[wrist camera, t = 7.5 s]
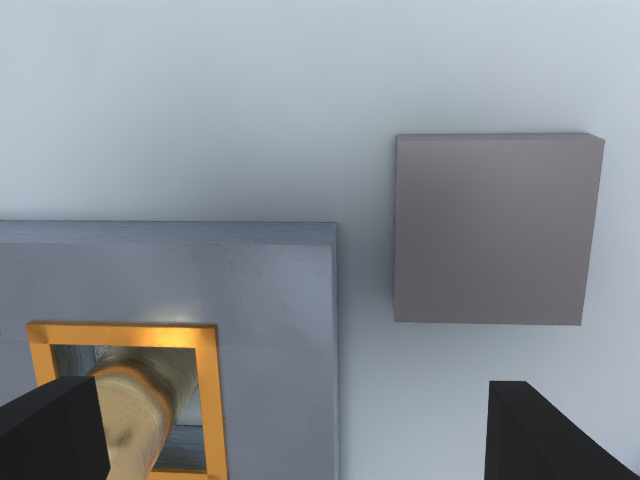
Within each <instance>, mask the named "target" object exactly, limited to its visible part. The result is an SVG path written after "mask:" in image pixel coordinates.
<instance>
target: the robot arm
mask: <svg viewBox="0 0 640 480" xmlns="http://www.w3.org/2000/svg"><path fill="white" fill-rule="evenodd" d="M110 469H111V465H110V460H109V454H108V449H107V443H106V438H105V432H104V427H103V421H102V415H101V410H100V404H99V399H98V393H97V388H96V382H95V376H62V377H60V378H57V379H55V380H52V381H50V382H48V383H46V384H44V385H41V386H39V387H37V388H35V389H33V390H31V391H29V392H27V393H25V394H24V395H22V396H20V397H18V398H16V399H14V400H12V401H10V402H8V403H6V404H5V405H3V406H1V407H0V480H106V479H107V477H108V474H109V472H110ZM484 480H640V477H639V476H637V475H636V474H635V473H633V472H632V471H631V470H629V469H628V468H627V467H626V466H624V465H623V464H622V463H621V462H619V461H618V460H617V459H615V458H614V457H613V456H612V455H610V454H609V453H608V452H607V451H606V450H604V449H603V448H602V447H601V446H599V445H598V444H597V443H596V442H595V441H594V440H592V439H591V438H590V437H589V436H588V435H586V434H585V433H584V432H583V431H582V430H581V429H579V428H578V427H577V426H576V425H575V424H574V423H572V422H571V421H570V420H569V419H568V418H567V417H566V416H565V415H563V414H562V413H561V412H560V411H559V410H558V409H557V408H556V407H554V406H553V405H552V404H551V403H550V402H549V401H548V400H547V399H546V398H544V397H543V396H542V395H541V394H540V393H539V392H538V391H537V390H535V389H534V388H533V387H532V386H531V385H530V384H528V383H527V382H526V381H490V383H489V401H488V419H487V437H486V455H485V474H484Z"/></svg>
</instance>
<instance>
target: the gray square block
mask: <svg viewBox="0 0 640 480" xmlns="http://www.w3.org/2000/svg"><path fill="white" fill-rule="evenodd" d="M604 144H605V140H604V139H601V138H598V137H596V136H593V135H590V134H588V133H556V134H427V135H397V144H396V192H395V240H394V287H393V308H394V320H395V322H429V323H477V324H526V325H575V326H581V320H582V312H583V305H584V297H585V289H586V282H587V274H588V266H589V259H590V251H591V243H592V236H593V228H594V220H595V213H596V205H597V197H598V190H599V182H600V174H601V167H602V159H603V151H604Z"/></svg>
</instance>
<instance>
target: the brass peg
mask: <svg viewBox="0 0 640 480" xmlns="http://www.w3.org/2000/svg"><path fill="white" fill-rule="evenodd" d="M85 376H95V382H96V388H97V393H98V399H99V404H100V410H101V415H102V421H103V427H104V432H105V438H106V443H107V449H108V454H109V460H110V465H111V469H110V472H109V474H108V477H107V479H106V480H146V479H147V477H148V475H149V473H150V471H151V469H152V468H153V466H154V464H155V462H156V460H157V458H158V456H159V454H160V453H161V451H162V449H163V447H164V445H165V443H166V441H167V439H168V438H169V436H170V434H171V432H172V430H173V428H174V426H175V424H176V423H177V421H178V419H179V417H180V415H181V413H182V411H183V410H184V408H185V406H186V404H187V402H188V400H189V398H190V396H191V395H192V393H193V391H194V389H195V387H196V385H197V383H198V371H197V361H196V350H195V348H186V347H146V346H111V347H110V348H109V349H108V350H107V351H106V352H105V353H104V354H103V355H102V357H101V358H100V359H99V360H98V361H97V362H96V363H95V364H94V366H93V367H92V368H91V369H90V370H89V371H88V372H87V373H86V374H85Z"/></svg>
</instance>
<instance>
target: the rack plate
mask: <svg viewBox="0 0 640 480" xmlns="http://www.w3.org/2000/svg"><path fill="white" fill-rule="evenodd" d="M92 345H107V346H146V347H186V348H195V350H196V361H197V371H198V382H199V392H200V403H201V413H202V424H203V427H198V426H174V428H173V430H172V432H171V434H170V436H169V438H168V439H167V441H166V443H165V445H164V447H163V449H162V451H161V453H160V454H159V456H158V458H157V460H156V462H155V464H154V466H153V468H152V469H151V471H150V473H149V475H148V477H147V479H146V480H339V399H338V308H337V223H316V222H137V221H0V407H1V406H3V405H5V404H6V403H8V402H10V401H12V400H14V399H16V398H18V397H20V396H22V395H24V394H25V393H27V392H29V391H31V390H33V389H35V388H37V387H39V386H41V385H44V384H46V383H48V382H50V381H52V380H55V379H57V378H60V377H62V376H85V374H86V373H87V372H88V371H89V370H90V369H91V368H92V367H93V366H94V364H95V358H94V352H93V346H92Z"/></svg>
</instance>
